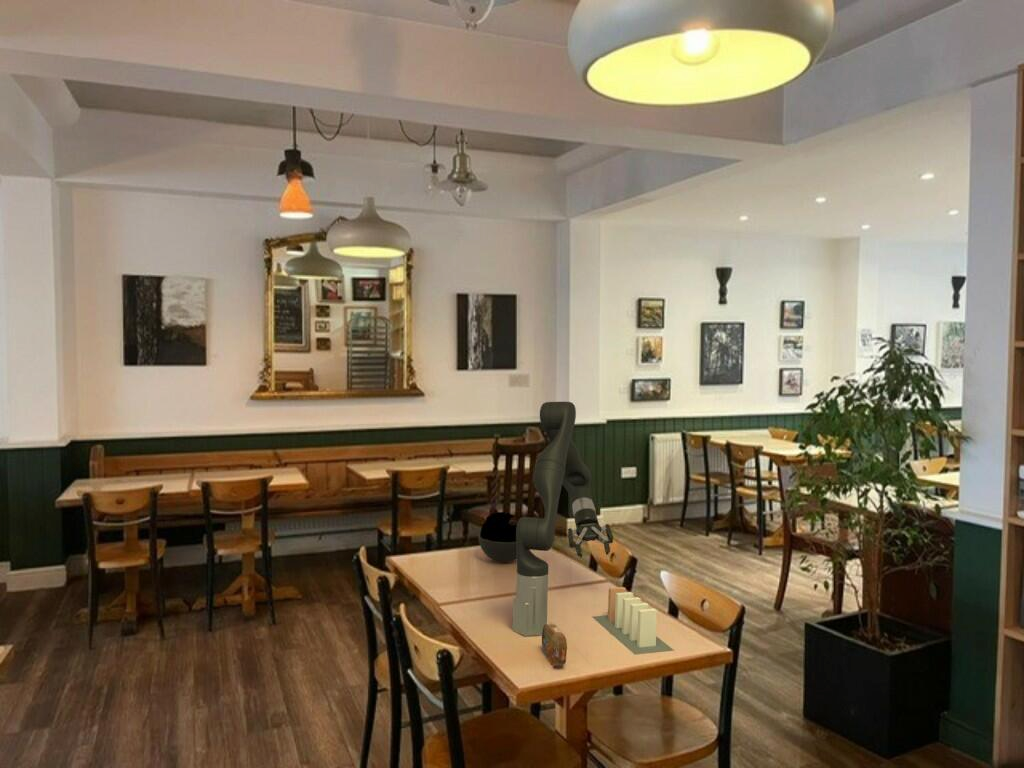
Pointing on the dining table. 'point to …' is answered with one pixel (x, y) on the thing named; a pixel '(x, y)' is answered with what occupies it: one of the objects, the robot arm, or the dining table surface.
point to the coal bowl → (499, 538)
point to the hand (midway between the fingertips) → (594, 554)
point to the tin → (554, 645)
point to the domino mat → (626, 641)
